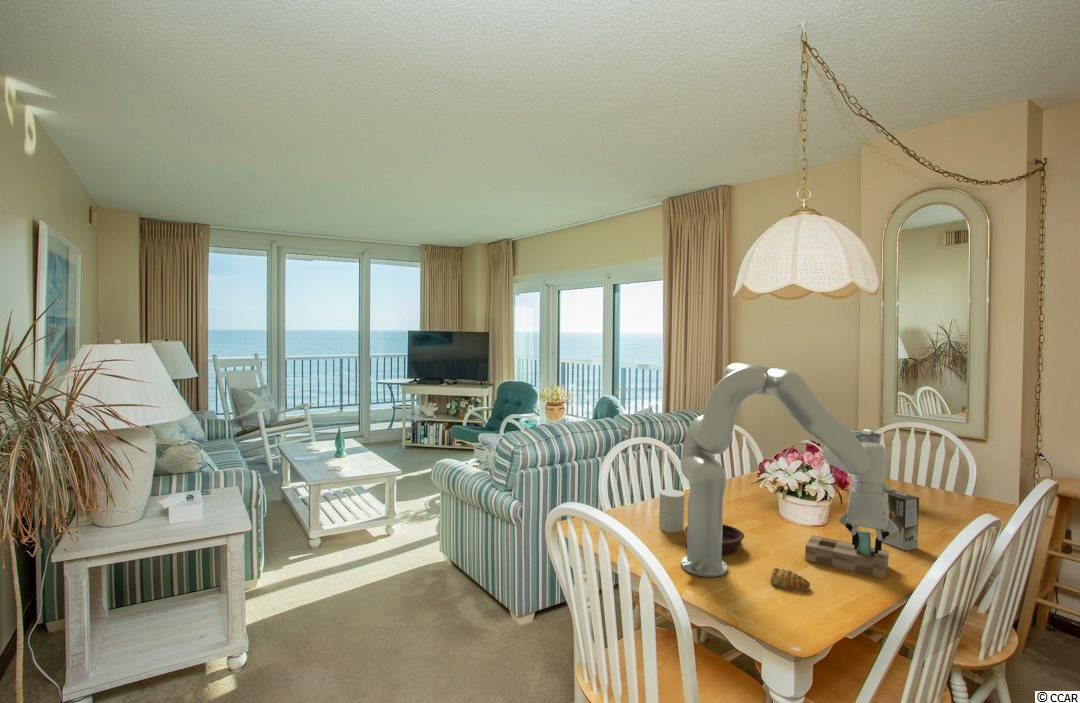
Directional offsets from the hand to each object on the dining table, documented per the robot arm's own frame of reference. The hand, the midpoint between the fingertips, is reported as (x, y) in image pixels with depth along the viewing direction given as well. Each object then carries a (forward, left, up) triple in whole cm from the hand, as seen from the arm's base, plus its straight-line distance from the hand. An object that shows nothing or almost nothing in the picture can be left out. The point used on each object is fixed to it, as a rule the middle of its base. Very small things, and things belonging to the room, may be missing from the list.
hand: (866, 549), depth 159 cm
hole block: (0, +5, -5) cm, 7 cm away
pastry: (-24, +16, -6) cm, 30 cm away
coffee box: (+26, -6, -6) cm, 27 cm away
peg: (0, 0, -5) cm, 5 cm away
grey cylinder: (-4, +57, -6) cm, 57 cm away
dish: (-11, +40, -6) cm, 42 cm away
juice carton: (+80, +10, -6) cm, 81 cm away
